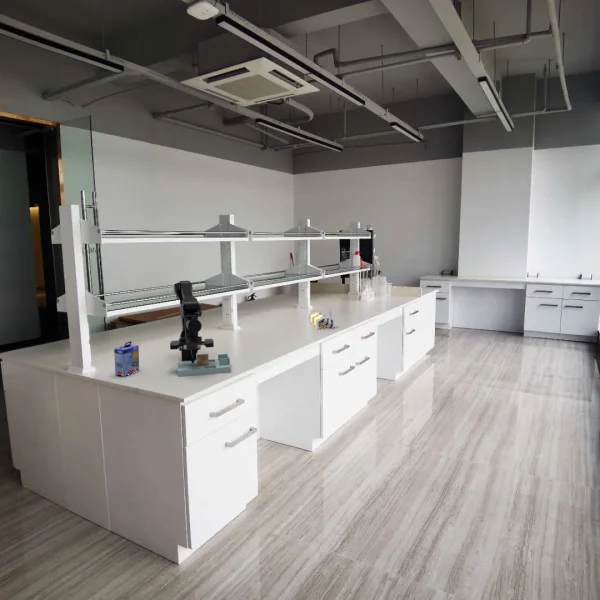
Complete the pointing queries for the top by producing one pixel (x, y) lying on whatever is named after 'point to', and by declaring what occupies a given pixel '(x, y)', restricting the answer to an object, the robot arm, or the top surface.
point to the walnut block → (202, 360)
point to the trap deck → (213, 368)
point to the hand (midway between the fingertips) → (192, 362)
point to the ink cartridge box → (126, 359)
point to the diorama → (320, 319)
